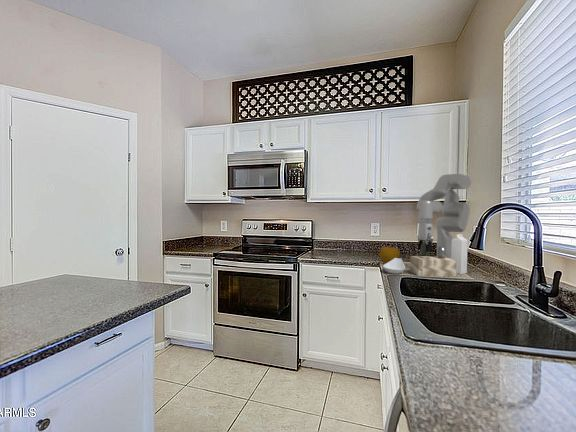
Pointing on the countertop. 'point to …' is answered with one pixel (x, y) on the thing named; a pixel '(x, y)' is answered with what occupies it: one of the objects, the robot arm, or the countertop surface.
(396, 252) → the apple
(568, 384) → the countertop surface
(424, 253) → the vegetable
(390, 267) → the spoon rest
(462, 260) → the milk
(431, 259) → the beige woven basket
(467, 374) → the countertop surface
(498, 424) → the countertop surface
